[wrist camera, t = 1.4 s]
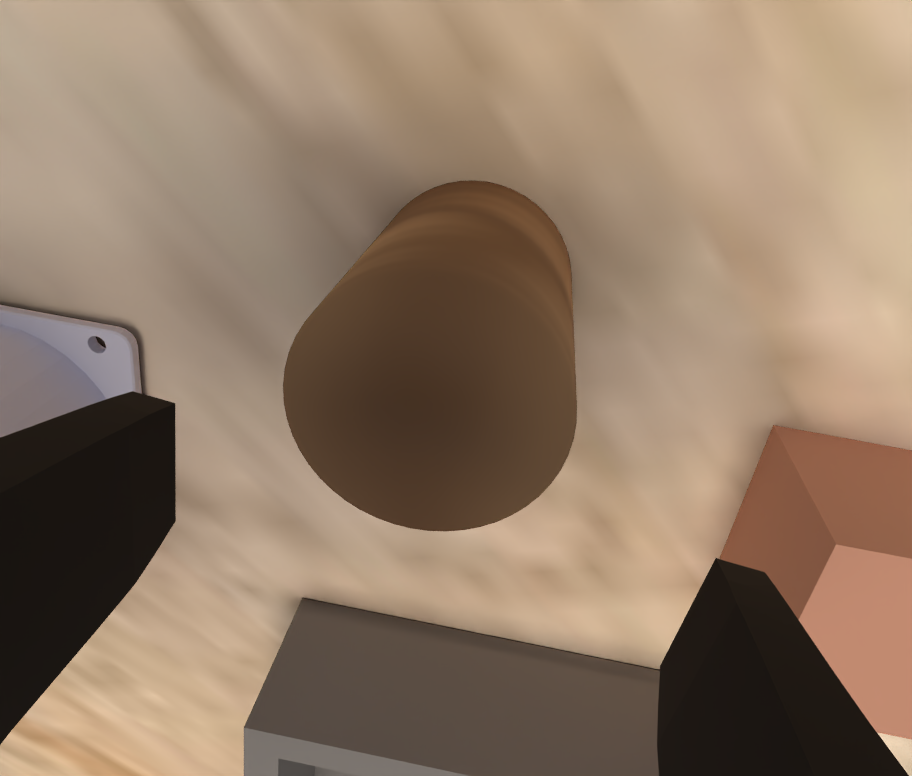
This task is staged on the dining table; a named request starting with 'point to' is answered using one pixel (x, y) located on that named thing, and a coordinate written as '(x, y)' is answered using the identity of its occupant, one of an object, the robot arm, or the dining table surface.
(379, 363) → the walnut cylinder
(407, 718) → the tote
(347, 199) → the dining table surface
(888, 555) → the cube
